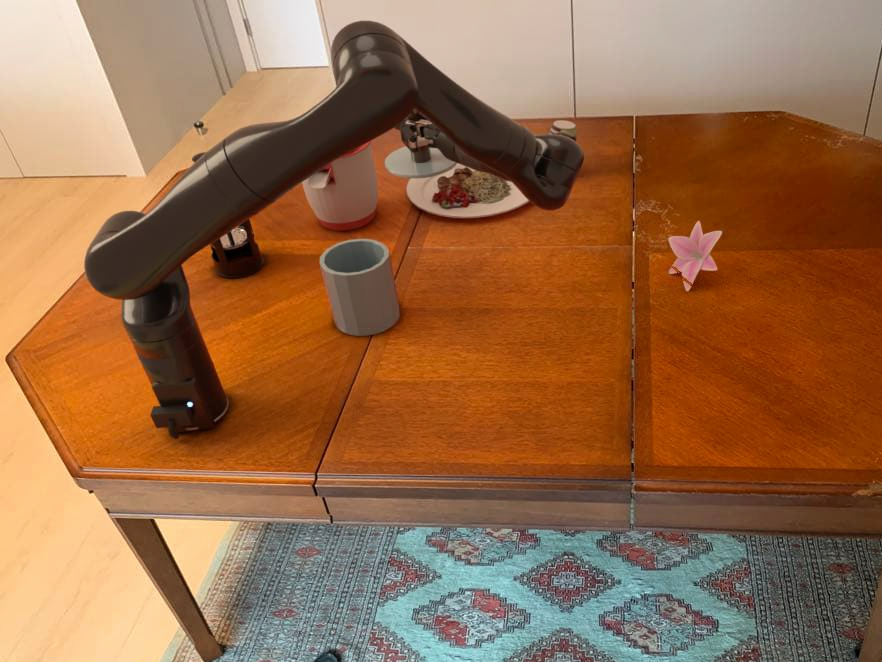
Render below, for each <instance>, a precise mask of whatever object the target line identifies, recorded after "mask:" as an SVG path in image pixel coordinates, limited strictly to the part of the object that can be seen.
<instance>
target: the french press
mask: <svg viewBox="0 0 882 662" xmlns="http://www.w3.org/2000/svg"><path fill="white" fill-rule="evenodd" d="M206 152H207V151H204V152H200V153H197V154H195V155H193V156H192V158H191V161H192V162H193V163H195V162H196V161H197V160H198V159H199V158H200V157H201V156H203V155H204V154H205V153H206ZM209 246H210V249H211V251H212V252H211V259H212V262H213V264H214V271H215V274H217V276H219V277H221V278H223V279H231V280H232V279H234V280H235V279H242V278H245V277H248V276H252V275H254V274H256V273H257V272H258V271H260V270H261V269H262V268H263V266H264V264H265V259H264V257H263V255H262V253H261V250H260V247H259V244H258V243H257V242H256V240H255V233H254V231H253V227H252V224H251V220H250V219H248V220H247V221H245V222H244V223H242V224H241V225H239V226H238V227H236V228H235V229H233V230H232V231H230V232H229V233H227V234H226V235H224V236H223V237H221V238H220V239H218V240H216V241H215V242H213V243H211V244H210V245H209ZM241 256H242V257H243V256H247V258H245V259H242V260H240V261H235V262H229V260H231V259H233V258H236V257H241ZM248 256H249V257H248Z"/></svg>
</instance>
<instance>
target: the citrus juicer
mask: <svg viewBox="0 0 882 662" xmlns="http://www.w3.org/2000/svg"><path fill="white" fill-rule="evenodd" d="M371 142H372V140H371V141H369V142H368V143H366V144H364V145H362V146H360V147H358V148H356V149H354V150H353V151H351V152H349V153H347V154H345V155H343V156H342V157H340V158H338V159H336V160H335V161H333V162H332V163H330V164H329V165H327V166H326V167H324V168H323V169H321V170H320V171H318V172H317V173H315V174H314V175H312V176H311V177H309V178H307V179H306V180H304V181H303V182H301V184H302V189H303V191H304V194H305V198H306V200H307V203H308V204H309V206H310V208H311V210H312V211H313V214H314V216H315V217H316V219H317V220H318V221H319V223H320V224H321V225H322V226H323V227H325V228H326V229H329V230H333V231H349V230H350V231H351V230H358V229H360V228H361V227H364V226H365V225H366V226H367V224H369V223H371V222H372V221H373V220H374V219H375V216H376V213H377V208H378V198H379V185H378V177H377V171H376V166H375V161H374V155H373V149H372V144H371Z"/></svg>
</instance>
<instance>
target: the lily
mask: <svg viewBox="0 0 882 662" xmlns="http://www.w3.org/2000/svg"><path fill="white" fill-rule="evenodd" d="M722 235H723V230H713V231H710V232H707V233H703V229H702V224H701V221H700V220H697V221H696V223H695V224H694V227H692V230H691V233H690V235H689V236H684V235H672V236H669V237H668V243H669V246H670V248H671V250H672V252H673V253H674V255H675V256H676V259H675V261H674V262H673V264H672V265H671V267H672V266H674V267H676V268H677V269H678V270H679V271H680V272H681V277H682V276H683V277H684V278H686V279H687V280H688V281H689V282H691V283H692V285H693V284H694V281H695V280H696V277H697V275H698V274H699V271H700V270H702V271H708V272H709V271H712V272H714V271H718V267H717V265H716V262H715V261H714V258H713V257H712V255H711V254H710V253H711V251H712V250H713V248H714V247H715V245H716V244H717V242H718V241H719V239H720V238H721V236H722ZM671 267H670V268H669V270H668V274H669V275H673V274H677V272H676V271H675V270H674V269H673V268H671ZM680 272H679V273H680ZM682 283H683V286H684V289H685V291H686V292H689V291H690V289H691V288H692V286H690V285H689V284H688V283H686V282H685V281H683V280H682Z"/></svg>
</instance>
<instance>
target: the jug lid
mask: <svg viewBox="0 0 882 662" xmlns="http://www.w3.org/2000/svg"><path fill="white" fill-rule="evenodd" d="M407 118H408V119H410V120H413V121H419V120H421V119H423V120H426V118H425V117H424V116H422V115H421V114H420V113H419V112H417V111H416V110H413V112H412V113H411V114H410V115H409V116H408V117H407ZM414 131H415V132H417V131H416V128H415V127H414ZM418 150H419V151H418V152H416V153H412V152H411V151H410V150H409V149H408V148H407V147H406V146H403V147H400V148H398V149H396V150H393V151H392V152H390V153H389V154H388V155H387V156H386V158H385V159H384V167H385V170H386V171H387V172H388V173H389V174H390V175H393V176H396V177H397V178H398V177H399V178H403V179H411V178H427V177H433V176H437V175H440V174H443V173H445V172H447V171H449V170H451V169H452V168H453V167H455V166H456V164H457V163H456V162H453V161H451V160H449V159H447V158H446V157H444V155H443V154H442V153H441V152H440V151H439V149H437V148H430V147H428V146H427V145H424V146H420V147H419V148H418Z"/></svg>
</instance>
